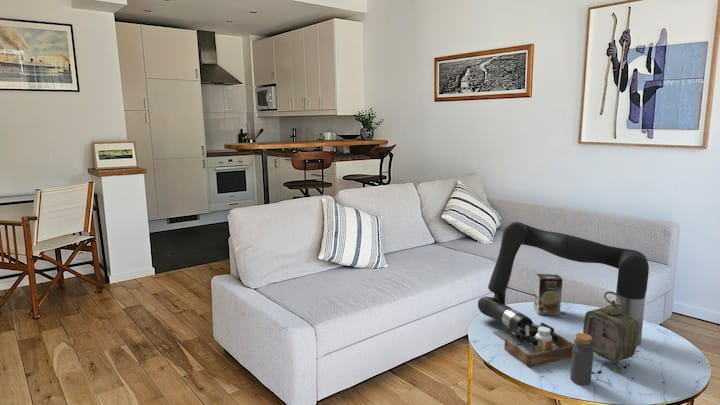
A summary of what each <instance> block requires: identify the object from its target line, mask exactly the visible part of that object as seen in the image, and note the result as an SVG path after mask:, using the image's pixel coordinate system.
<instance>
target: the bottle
mask: <svg viewBox="0 0 720 405" xmlns="http://www.w3.org/2000/svg"><path fill="white" fill-rule="evenodd" d="M573 341H574V342H573V344H575V346H574V347H573V349H572V358H571V363H570V364H571V365H570V380H571V382H573V383H574V384H576V385H579V386H589V385H591V381H592V371H593V362H594V361H593V360H594V359H593V357H594V352H593V350H592V349H591V347H592V342H591V341H592V337H591V336H590V335H588V334H585V333H583V332H578V333H576V334H575V339H574V340H573Z"/></svg>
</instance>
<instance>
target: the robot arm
mask: <svg viewBox="0 0 720 405" xmlns="http://www.w3.org/2000/svg"><path fill="white" fill-rule="evenodd" d="M501 235H502V237H501V243H500V249H499V252H498V257H497V259H496V262H495V265H494V268H493V271H492V273H491V277H490V280H489V282H488V285H487V286H488V287H487V288H488V291H490V292H491V293H493V295H494V296H482V297H480V298H479V300H477V308H478V311H479V312H481V314H483V315H484V316H486V317H488V318H491V319H494V320H496V321H498V322H499V323H501V324H503V325H504V326H505V327H506V329H510V330H511V331H512V336H514V337H515V338H516V339H518V340H519V341H520V342H524V341H526V342H529V344H531V345H533V346H534V347H535V346H538V340H537V339H535V338H534V337H536V334H537V333H538V328H539V327H547V328H549V329H550V335H551V336H552V340H553V341H555V342H557V341H558V335H559V334H558V335H556V334H557V333H556V334H554V332H555V328H554V327H552V326H550V325H548V324H546V323H544V322H540V324H539V325H538V324H535V323H534V322H533V320H532V319H531V318H530V317H528V316H527V315H525V314H524V313H522V312H520V311H519V310H517V309H514V308H512V307H510V305H506V293H507V292H506V291H507V289H508V285H509V282H510V279H511V275H512V270H513V266H514V261H515V258H516V255H517V254H518V252H519V249H520V248H521V246H529V247H533V248H537V249H541V250H543V251H545V252H547V253H549V254H552V255H553V256H556V257H559V258H562V259H565V260H568V261H572V262H577V263H587V264H600V265H601V264H602V265H606V266H609V267H612V268H615V269H618V272H617V282H616V290H615V291H616V292H615V293H617V294H618V295H620V296H621V297H622V299H623V305H621V306H618V307H619V308H620V310H621V313H623V314H625V315H627V316H629V317H632V318H633V319H635V320H636V321H637V323H638V342H637V345H639V346H640V345H641V343H642V333H643V325H644V313H645V305H646V304H645V302H646V293H647V289H648V281H649V273H650V272H649V271H650V269H649V268H650V265H649V262H648V259H647V257H646V255H644V254H643V253H642V252H640V251H638V250H635V249H629V248H622V247H616V246H612V245H611V246H610V245H606V244H602V243H599V242H597V241H594V240H590V239H586V238H583V237H579V236H575V235H570V234H565V233H560V232H556V231H549V230H543V229H539V228H537V227H534V226H531V225H528V224H525V223H523V222H519V221H512V222H510V223H507V224H506V225H505V226H504V228H503V229H502V234H501ZM614 301H615V304H622V301H621V299H620V298H619V297H618V296H616V295H615V300H614Z"/></svg>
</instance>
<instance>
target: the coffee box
mask: <svg viewBox="0 0 720 405" xmlns="http://www.w3.org/2000/svg"><path fill="white" fill-rule="evenodd" d="M535 277H536V278H535V289H534V290H535V291H534V302H533V303H534V304H533V311H535V313H536V314H537V316H539V315H540V316H560V315H561V305H562V304H561V303H562V291H563V278H562V277H561V276H560V275H559V274H553V273H552V274H549V273H548V274H547V273H536V275H535Z"/></svg>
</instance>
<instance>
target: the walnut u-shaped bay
mask: <svg viewBox="0 0 720 405" xmlns="http://www.w3.org/2000/svg"><path fill="white" fill-rule="evenodd" d="M554 334H556V335H558V341H557V342H555V341H553V340H552V345H554V346H556V347H557V348H552V349H551V350H548V351H543V352H539V353H535V352H534V353H528V352H527V351H526V350H524V349H523V348H521V347H520V346H519V345H516V344H514V343H513V342H511V341H510V340H508V339H505V341H504V351H506V352H507V353H509V355H511V356H512V357H514V358H515V359H516V360H518V361H519V362H521V363H522V364H523V365H525V366H526V367H528V368H532V367H536V366H541V365H545V364H550V363H554V362H558V361H561V360H567V359H570V358H571V359H572V349H573V347H574V346H575V344H574V342H571V341H570V340H568V339H567V338H565V337H564V336H561V335H559V334H558V333H557V332H555V331H554Z"/></svg>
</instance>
